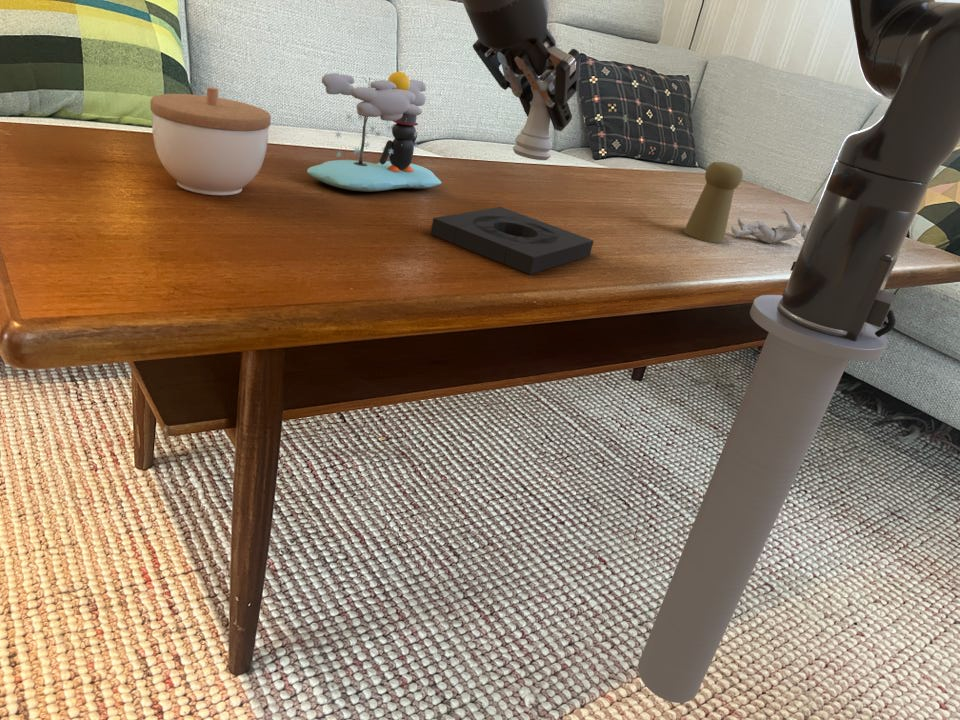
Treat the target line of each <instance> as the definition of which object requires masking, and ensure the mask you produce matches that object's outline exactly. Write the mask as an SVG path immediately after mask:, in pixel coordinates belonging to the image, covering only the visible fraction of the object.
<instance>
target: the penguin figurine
mask: <svg viewBox="0 0 960 720" xmlns="http://www.w3.org/2000/svg"><path fill="white" fill-rule="evenodd" d="M369 73H371V71H370V72H369ZM361 79H363V77H361ZM368 80H369V81H368V82H367V80H366V79H364V81H365V82H367V84H368V85H369V86H367V87H365V86H364V87H362V86H359V87H354V86H353V85H354V83H355V78H354V77H353V76H352V75H349V74H340V73H338V72H337V73H336V72H335V73H334V72H333V73H332V72H330V73H326V74H324V75H323V76H322V78H321V83H322V84H323V86H324V87H325V93H326V94H328V95H343V96H351V97H353V98H355V99H357V100H359V102H358V103H357V104H356V114H357V115H358V117H357V119H358V120H363V126H362V132H361V133H362V134H361V133H360V132H358V134H359V135H361V143H360V148H359V146H357V147H353V150H352V153H354V155H359V160H357V159H356V160H355V159H354V160H353V159H340V157H343V156H342V154H343V152H341V150H338V152H336V155H335V157H337V158H339V159H336V160H335V159H334V160H328V161H325V162H321V163H320V164H317V165H313V166H310V167H308V168H307V169H306V172H307V174H308V176H310V177H311V178H313V179H316V180H317V181H320V182H322V183H324V184H326V185H328V186H331V187H335V188H338V189H342V190H347V191H353V192H364V193H365V192H371V193H372V192H383V191H390V190H391V191H392V190H398V189H421V190H422V189H430V188H433V187H437V186H440V185H441V184H442V181H441V180H440V179H439V177H437V176H436V175H435V174H434V172H433V171H431V170H430V169H428V168H426V167H424V166H421V165H418V164H416V163H412V162H413V159H414V158H413V157H414V152H415V150H416V148H417V147H419V144H417V143H416V141H417V138H418V137H419V133H418V131H417V130H416V127H415V126H419V124H418V123H417V117H418V116H419V115H421V114H422V113H423V110H422V109H421V106H425V104H426V100H427V98H426V95H425V94H424V93H423V92H425V91H426V90H427V86H426V83H425V82H424V81H422V80H417V79H410V78H409V76H408V75H407V74H406V73H404V72H402V71H395V72H393V73H391V74H390V75H389V76H388V79H381V80H377V79H375V80H374V81H371V78H368ZM370 81H371V82H370ZM352 84H353V85H352ZM345 116H346V120H347V121H350V120H353V118H352V114H351V113H350V112H349V113H348V114H345ZM379 117H380V120H381V121H385V122H386V123H387V124H388V123H390V122H393V123H392V124H388V125H387V128H385V131H387V132H391V134H392V137H393V138H394V139H393V140H387V141H386V142H385V145H384V146H383V147H381V149H382V154H381V156H380V158H379V162H378V163H374V162H370V161H369V162H368V161H364V151H365V148H369V146H370V145H371V143H370V142H369V141H366V139H367V138H369V136H368V134H369V133H367V132H366V128H367V122H368V119H369V118H379ZM370 132H371V134H372V133H373V132H375V137H376V138H378V137H381V135H380V134H381V132H380V131H379V130H377V132H376V126H375V125H373V124H372V127H371V126H370ZM341 135H342V133H341V132H340V131H338V132H337V131H336V132H335V138H336V137H337V140H339V138H342V136H341ZM414 149H415V150H414ZM388 158H389V159H388Z"/></svg>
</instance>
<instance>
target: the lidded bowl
mask: <svg viewBox="0 0 960 720" xmlns="http://www.w3.org/2000/svg"><path fill="white" fill-rule="evenodd" d="M149 102H150V103H149V104H150V105H149V106H150V111H151V129H152V138H153V144H154V147H155V152H156V154H157V156H158V159H159V161H160V163H161V165H162V167H163V168H164V169H165V171H166V172H167V173H168V174H169V175H170V176H171V177H172V178H173V179H174V180H175V181H176V185H177V186H178V187H179V188H181V189H183V190H185V191H189V192H192V193H195V194H196V193H197V194H202V195H209V196H233V195H238V194H240V193H242V192H243V188H244V187H245V186H247V185H248V184H250V183H251V182H252V181H253V180H254V179H255V178H256V176H257V175H258V174H259V173H260V171H261V169H262V168H263V167H262V166H263V164H264V161H265V158H266V155H267V149H268V143H269V133H270V132H269V130H270V127H271V119H272V116H271V114H270V112H268V111H266V110H265V109H263V108H261V107H258V106H256V105H253V104H249V103H245V102H241V101H237V100H232V99H227V98H223V97H219V88H218V87H213V86H206V95H203V94H202V95H201V94H189V93H162V94H157V95H153V96H152V97H151V98H150V100H149Z"/></svg>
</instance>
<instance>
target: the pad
mask: <svg viewBox="0 0 960 720" xmlns="http://www.w3.org/2000/svg"><path fill="white" fill-rule="evenodd" d="M430 235H432V236H434V237H436V238H439V239H441V240H443V241H446V242H449V243H451V244H454V245H456V246H459V247H461V248H463V249H466V250H468V251H470V252H472V253H475V254H478V255H479V256H480V255H481V256H483V257H485V258H488V259H490V260H492V261H494V262H497V263H500V264H502V265H505V266H508V267H510V268H513V269H515V270H517V271H519V272H522V273H525V274H527V275H534V274H537V273H540V272H544V271H546V270H549V269H553V268H555V267H558V266H563V265H565V264H569V263H571V262H574V261H575V262H576V261H578V260H582V259H585V258H588V257H590V256H591V253H592V249H593V245H594V240H593V239H591V238H587V237H585V236H583V235H580V234H577V233H574V232H571V231H569V230H566V229H563V228H560V227H558V226H555V225H552V224H549V223H546V222H544V221H541V220H538V219H536V218H533V217H530V216H527V215H526V214H525V215H524V214H521V213H519V212H516V211H513V210H510V209H507V208H505V207H502V206H497V207H492V208H485V209H479V210H473V211H467V212H461V213H453V214H448V215H443V216H435V217H433V218H432V224H431V229H430Z"/></svg>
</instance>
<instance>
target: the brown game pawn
mask: <svg viewBox="0 0 960 720" xmlns="http://www.w3.org/2000/svg"><path fill="white" fill-rule="evenodd" d="M704 173H705V176H704V179H705V182H706V183H705V185H704V186H703V189H702V192H700V193H701V194H700V196H699V197H698V200H697V201H696V204H695V206H694V209H693V211H692V213H691V215H690V216H689V219H688V221H687V223H686V226H685V228H684V230H683V231H684V234H686V235H687V236H689V237H692V238H694V239H697V240H701V241H703V242H708V243H714V244H722V243H724V242H725V236H726V231H727V227H728V221H729V217H730V213H731V208H732V201H733V197H734V191H735V190H736V189H737V188H738V187H739V186H740V184H741V183H742V180H743V177H744V176H743V174H744V173H743V169H741V168H740V167H739V166H737V165H736V164H733V163H730V162H726V161H713V162H710V164H709V165H708V166H707V167H706V170H705V172H704Z"/></svg>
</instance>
